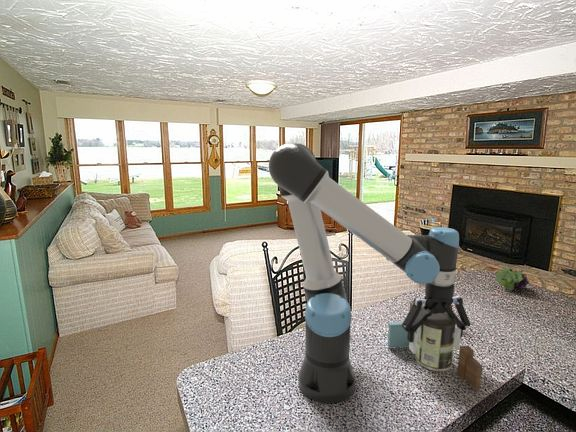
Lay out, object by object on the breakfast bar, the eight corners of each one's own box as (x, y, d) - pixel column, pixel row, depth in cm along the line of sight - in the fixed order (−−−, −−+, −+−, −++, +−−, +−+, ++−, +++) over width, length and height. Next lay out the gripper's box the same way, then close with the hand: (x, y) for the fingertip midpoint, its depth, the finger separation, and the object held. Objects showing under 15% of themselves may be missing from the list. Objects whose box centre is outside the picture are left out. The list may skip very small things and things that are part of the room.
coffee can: (446, 352, 105) (451, 310, 102) (456, 373, 95) (461, 328, 92) (412, 348, 107) (415, 307, 104) (417, 369, 97) (421, 324, 94)
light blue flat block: (431, 341, 110) (433, 319, 108) (434, 344, 108) (436, 321, 107) (387, 345, 108) (388, 322, 106) (389, 348, 106) (390, 325, 104)
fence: (473, 392, 88) (476, 361, 86) (408, 325, 121) (410, 301, 119) (525, 386, 90) (529, 356, 88) (447, 322, 123) (449, 299, 121)
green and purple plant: (528, 296, 151) (508, 294, 144) (506, 284, 160) (486, 281, 154) (539, 276, 149) (519, 273, 142) (516, 265, 158) (496, 261, 151)
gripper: (405, 289, 90) (400, 360, 95) (489, 284, 94) (480, 352, 98) (392, 279, 98) (388, 345, 102) (471, 274, 101) (464, 338, 105)
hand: (433, 349), depth 100 cm, fingers open, 13 cm apart
